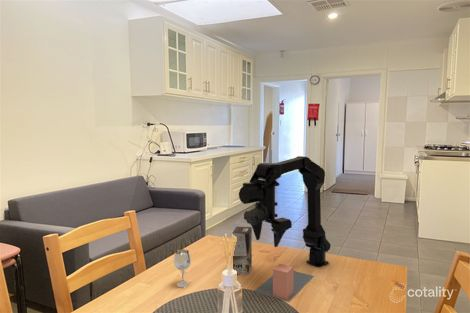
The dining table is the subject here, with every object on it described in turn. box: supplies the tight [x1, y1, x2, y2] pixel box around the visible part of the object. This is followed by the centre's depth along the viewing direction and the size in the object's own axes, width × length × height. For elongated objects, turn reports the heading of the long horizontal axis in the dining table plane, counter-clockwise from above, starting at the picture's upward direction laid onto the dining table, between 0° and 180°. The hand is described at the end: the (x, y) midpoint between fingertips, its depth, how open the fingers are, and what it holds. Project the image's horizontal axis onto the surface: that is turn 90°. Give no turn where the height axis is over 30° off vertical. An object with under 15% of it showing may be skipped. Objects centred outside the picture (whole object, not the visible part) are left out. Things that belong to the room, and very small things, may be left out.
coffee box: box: [231, 226, 253, 276], centre depth 131 cm, size 9×6×16 cm
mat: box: [253, 270, 315, 303], centre depth 120 cm, size 22×13×1 cm, turn 146°
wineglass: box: [173, 249, 192, 288], centre depth 120 cm, size 6×6×12 cm
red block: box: [272, 263, 295, 300], centre depth 111 cm, size 5×5×9 cm
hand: (266, 243), depth 119 cm, fingers open, 9 cm apart
